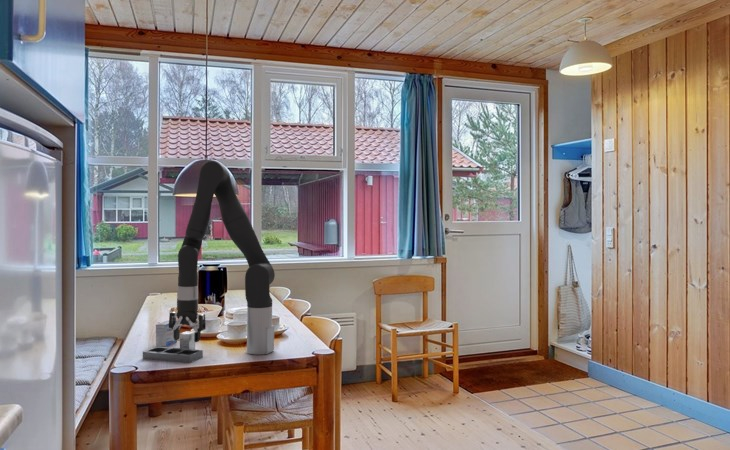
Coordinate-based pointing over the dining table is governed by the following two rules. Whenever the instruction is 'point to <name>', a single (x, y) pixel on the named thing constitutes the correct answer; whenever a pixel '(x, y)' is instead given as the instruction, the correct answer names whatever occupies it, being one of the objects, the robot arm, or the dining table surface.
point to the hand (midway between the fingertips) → (186, 340)
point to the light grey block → (187, 340)
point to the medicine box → (164, 334)
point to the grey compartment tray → (173, 354)
